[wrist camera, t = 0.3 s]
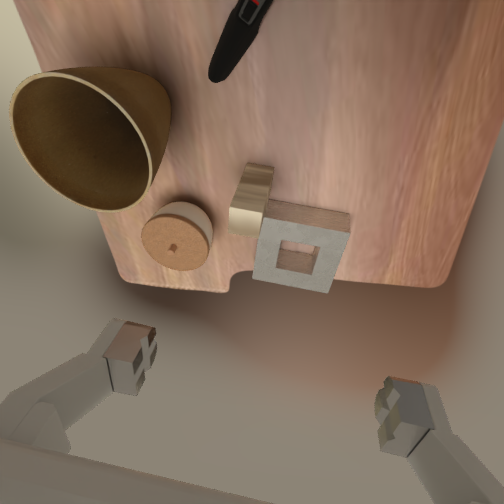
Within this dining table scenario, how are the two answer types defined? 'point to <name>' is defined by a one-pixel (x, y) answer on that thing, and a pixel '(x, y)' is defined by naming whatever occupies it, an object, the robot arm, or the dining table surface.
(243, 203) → the ash peg
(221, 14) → the dining table surface
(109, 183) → the plant pot
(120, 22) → the dining table surface
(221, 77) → the electric trimmer
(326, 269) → the socket block
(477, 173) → the dining table surface
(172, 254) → the lidded jar
